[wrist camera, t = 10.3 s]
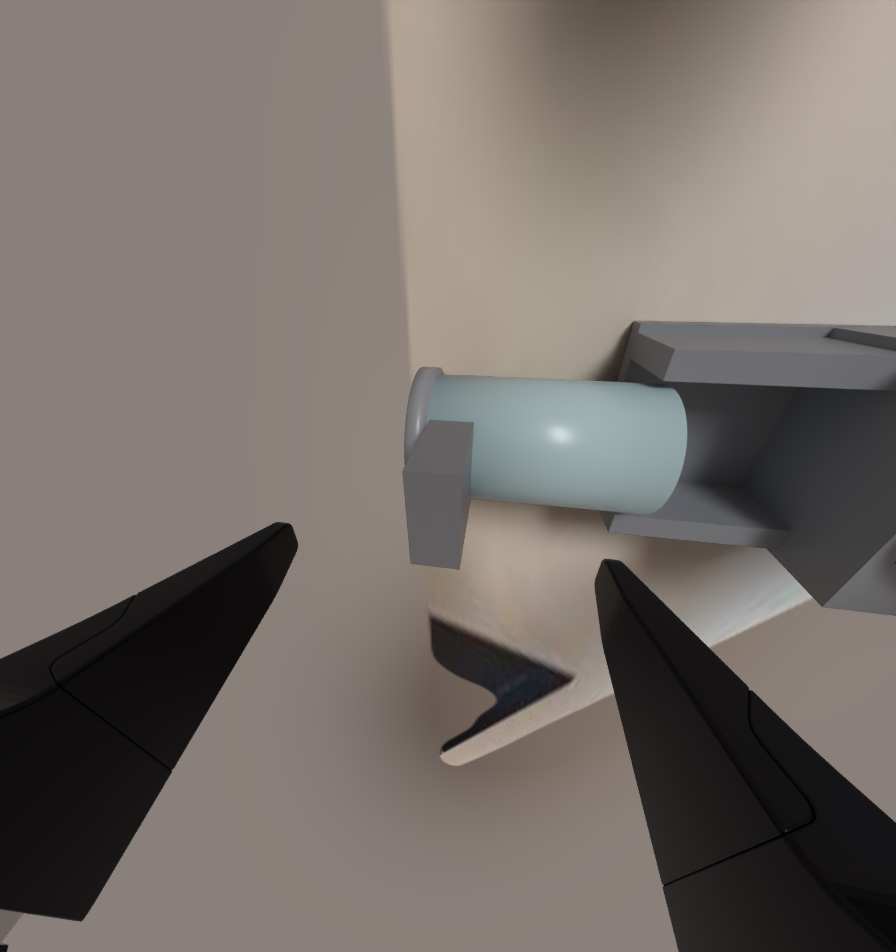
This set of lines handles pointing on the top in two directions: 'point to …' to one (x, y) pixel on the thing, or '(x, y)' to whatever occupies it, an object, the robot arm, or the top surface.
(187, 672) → the robot arm
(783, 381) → the housing
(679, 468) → the cartridge
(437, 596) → the top surface
